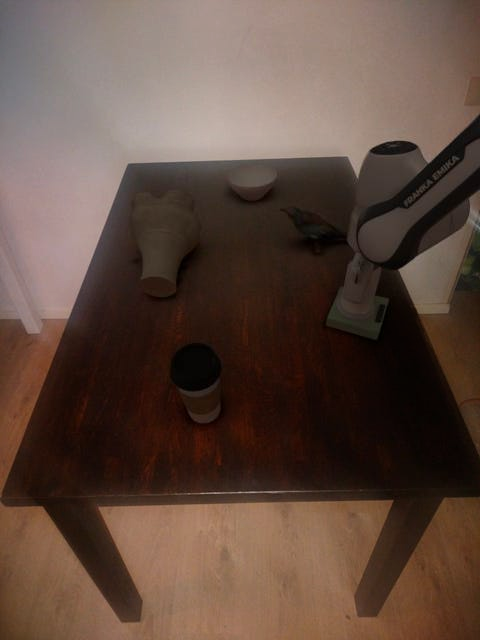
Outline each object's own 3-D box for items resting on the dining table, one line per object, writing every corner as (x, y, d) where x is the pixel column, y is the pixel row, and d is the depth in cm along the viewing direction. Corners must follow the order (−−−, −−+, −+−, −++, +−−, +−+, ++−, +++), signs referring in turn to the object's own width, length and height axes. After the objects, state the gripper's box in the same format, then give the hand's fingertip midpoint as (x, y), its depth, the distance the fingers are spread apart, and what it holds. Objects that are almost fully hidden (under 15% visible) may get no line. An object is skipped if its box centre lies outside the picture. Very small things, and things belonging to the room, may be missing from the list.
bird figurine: (351, 227, 108) (322, 172, 95) (362, 248, 102) (332, 192, 89) (309, 250, 113) (276, 202, 100) (317, 272, 106) (282, 223, 93)
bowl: (222, 188, 129) (221, 167, 124) (267, 180, 132) (268, 160, 127) (235, 211, 119) (233, 190, 114) (283, 202, 121) (284, 181, 116)
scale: (386, 306, 87) (389, 296, 85) (376, 340, 80) (379, 330, 78) (339, 294, 91) (340, 284, 89) (325, 325, 84) (327, 315, 82)
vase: (197, 276, 77) (207, 180, 91) (88, 266, 76) (114, 170, 89) (196, 326, 96) (204, 241, 110) (108, 319, 94) (128, 233, 108)
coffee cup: (179, 430, 68) (163, 382, 57) (184, 390, 74) (170, 339, 63) (226, 429, 68) (219, 381, 57) (227, 389, 74) (221, 338, 63)
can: (335, 299, 85) (343, 255, 76) (361, 292, 86) (372, 248, 78) (349, 319, 81) (359, 275, 72) (376, 311, 82) (390, 267, 73)
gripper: (378, 270, 63) (363, 327, 73) (399, 209, 75) (383, 265, 85) (340, 261, 65) (330, 318, 75) (367, 203, 77) (355, 258, 87)
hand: (359, 289), depth 80 cm, fingers closed on can, 6 cm apart
